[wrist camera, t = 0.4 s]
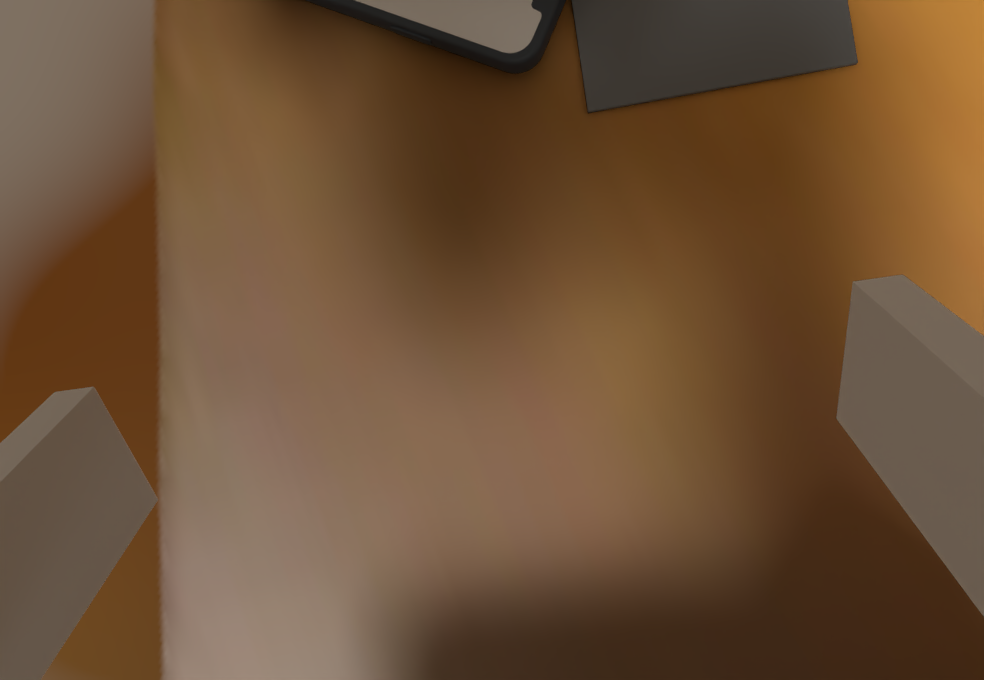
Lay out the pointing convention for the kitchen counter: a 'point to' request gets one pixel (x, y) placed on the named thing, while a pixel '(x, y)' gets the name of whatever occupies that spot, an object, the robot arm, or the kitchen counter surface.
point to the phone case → (466, 26)
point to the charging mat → (703, 45)
